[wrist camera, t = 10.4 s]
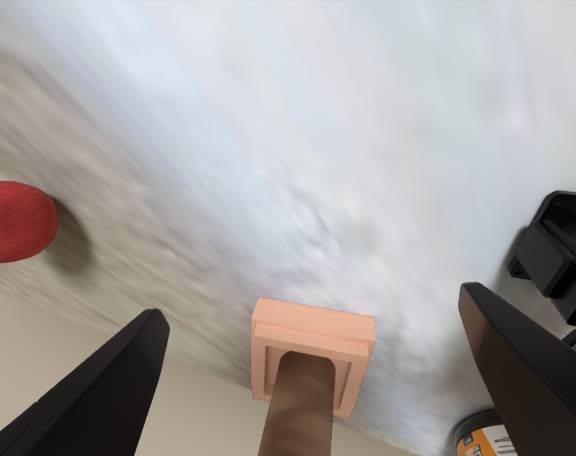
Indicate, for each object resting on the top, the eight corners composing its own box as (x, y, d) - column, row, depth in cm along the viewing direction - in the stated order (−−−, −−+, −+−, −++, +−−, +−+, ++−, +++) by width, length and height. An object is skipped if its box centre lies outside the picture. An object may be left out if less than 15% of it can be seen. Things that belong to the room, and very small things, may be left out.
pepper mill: (327, 347, 27) (308, 551, 16) (341, 384, 29) (332, 584, 19) (271, 350, 28) (222, 539, 18) (289, 385, 31) (253, 571, 20)
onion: (4, 190, 27) (-108, 245, 21) (31, 151, 25) (-88, 199, 18) (63, 238, 29) (-23, 303, 23) (94, 207, 27) (7, 268, 20)
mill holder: (373, 317, 28) (375, 354, 25) (353, 385, 33) (353, 422, 30) (258, 297, 29) (247, 330, 26) (257, 365, 34) (247, 399, 31)
